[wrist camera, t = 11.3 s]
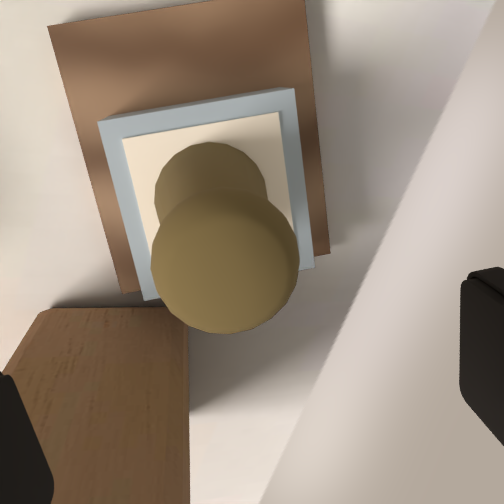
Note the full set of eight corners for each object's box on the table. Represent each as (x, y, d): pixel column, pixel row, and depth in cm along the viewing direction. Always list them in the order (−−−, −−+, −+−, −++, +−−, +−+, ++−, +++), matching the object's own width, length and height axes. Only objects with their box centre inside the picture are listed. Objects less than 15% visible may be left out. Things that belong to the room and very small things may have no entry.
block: (51, 424, 36) (-97, 806, 17) (38, 302, 32) (-165, 610, 14) (187, 418, 37) (189, 764, 18) (187, 300, 34) (191, 577, 15)
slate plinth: (109, 115, 27) (96, 122, 23) (279, 87, 28) (295, 88, 24) (149, 274, 31) (143, 302, 27) (299, 245, 32) (315, 268, 28)
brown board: (54, 28, 27) (47, 26, 25) (297, -10, 28) (303, -14, 26) (124, 284, 33) (122, 294, 31) (324, 246, 33) (330, 253, 32)
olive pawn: (289, 183, 26) (359, 251, 16) (227, 272, 27) (253, 389, 17) (193, 118, 24) (201, 146, 14) (132, 216, 25) (96, 310, 15)
